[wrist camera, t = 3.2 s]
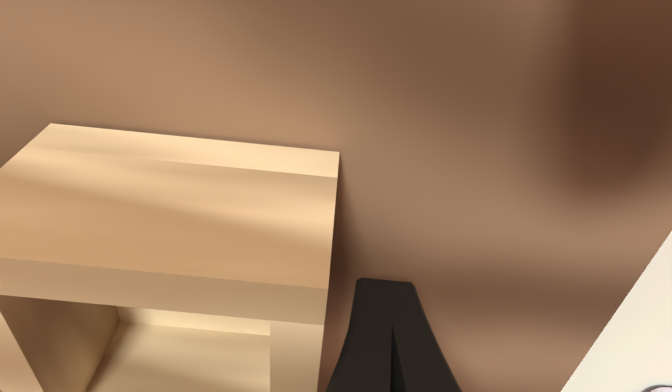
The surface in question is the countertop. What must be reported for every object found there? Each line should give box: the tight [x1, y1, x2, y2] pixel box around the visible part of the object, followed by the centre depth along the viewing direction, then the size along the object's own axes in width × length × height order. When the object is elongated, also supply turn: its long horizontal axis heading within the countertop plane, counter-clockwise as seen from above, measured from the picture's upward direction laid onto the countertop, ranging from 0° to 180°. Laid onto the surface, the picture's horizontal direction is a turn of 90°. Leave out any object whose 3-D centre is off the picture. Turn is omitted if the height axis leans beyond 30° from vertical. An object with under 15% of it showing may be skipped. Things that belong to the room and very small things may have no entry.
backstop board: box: [0, 0, 672, 392], centre depth 11 cm, size 14×24×5 cm, turn 85°
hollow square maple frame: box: [0, 123, 340, 392], centre depth 11 cm, size 6×6×4 cm
